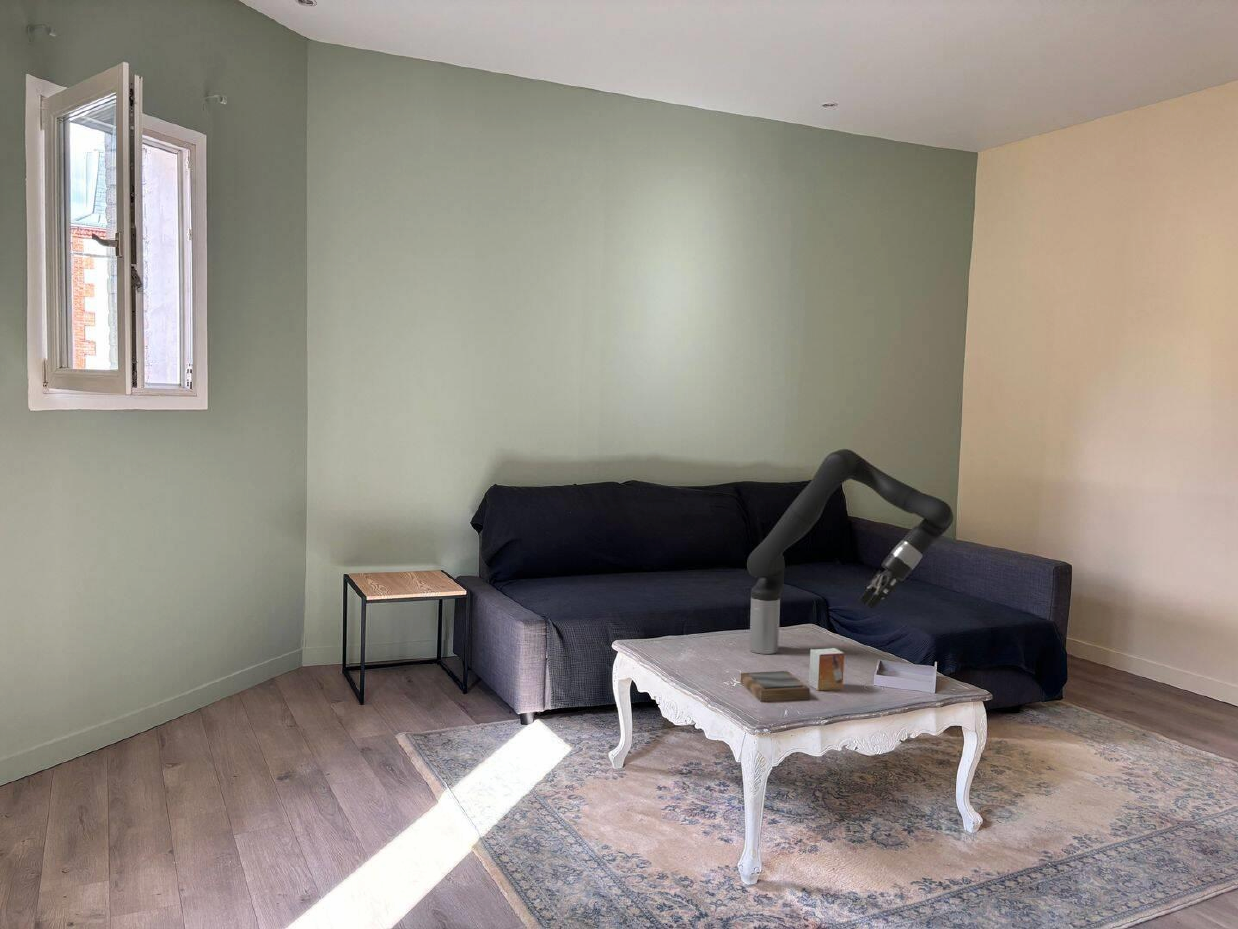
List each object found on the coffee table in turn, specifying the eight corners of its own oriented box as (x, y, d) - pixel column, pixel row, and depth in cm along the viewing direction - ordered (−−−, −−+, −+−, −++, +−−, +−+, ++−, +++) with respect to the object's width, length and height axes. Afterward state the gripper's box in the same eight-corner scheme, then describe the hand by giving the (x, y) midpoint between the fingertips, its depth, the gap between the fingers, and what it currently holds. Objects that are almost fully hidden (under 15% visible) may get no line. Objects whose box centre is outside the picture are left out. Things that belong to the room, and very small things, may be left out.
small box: (817, 691, 264) (819, 654, 263) (808, 685, 269) (809, 649, 268) (843, 689, 266) (844, 652, 265) (833, 683, 271) (835, 647, 270)
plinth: (740, 683, 269) (740, 671, 269) (786, 681, 272) (786, 669, 272) (760, 701, 254) (761, 689, 253) (809, 699, 257) (809, 686, 256)
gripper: (885, 549, 273) (849, 592, 273) (898, 554, 259) (861, 600, 259) (905, 565, 273) (869, 608, 273) (920, 571, 258) (882, 617, 259)
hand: (865, 604), depth 266 cm, fingers open, 8 cm apart
